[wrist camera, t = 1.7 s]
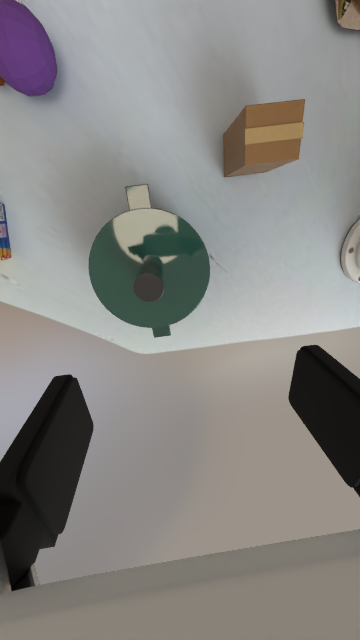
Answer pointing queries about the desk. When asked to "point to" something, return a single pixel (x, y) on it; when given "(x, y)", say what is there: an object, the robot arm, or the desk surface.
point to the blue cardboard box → (4, 235)
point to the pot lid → (149, 267)
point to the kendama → (25, 51)
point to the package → (263, 138)
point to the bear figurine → (348, 13)
